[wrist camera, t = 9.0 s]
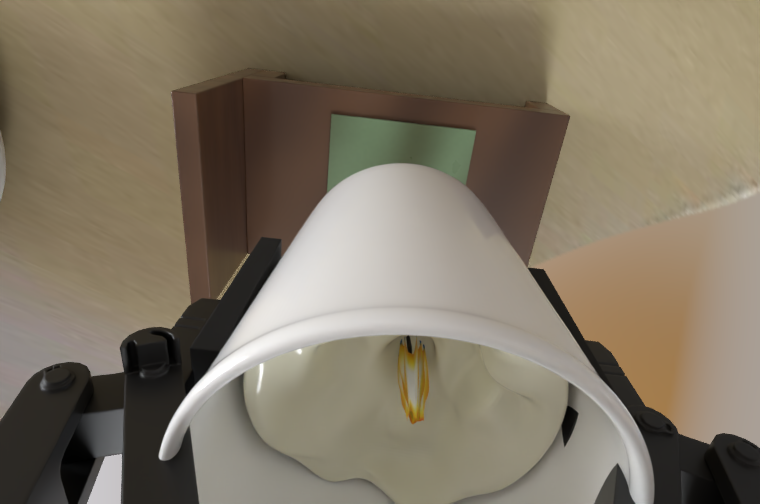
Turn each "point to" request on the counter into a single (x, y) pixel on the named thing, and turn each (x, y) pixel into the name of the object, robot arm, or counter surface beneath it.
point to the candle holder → (404, 368)
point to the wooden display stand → (340, 158)
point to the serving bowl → (2, 166)
